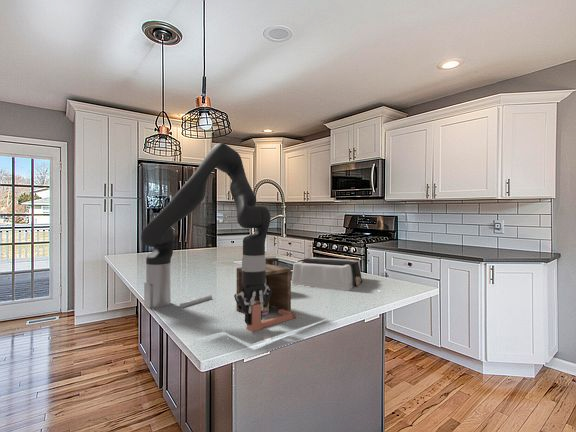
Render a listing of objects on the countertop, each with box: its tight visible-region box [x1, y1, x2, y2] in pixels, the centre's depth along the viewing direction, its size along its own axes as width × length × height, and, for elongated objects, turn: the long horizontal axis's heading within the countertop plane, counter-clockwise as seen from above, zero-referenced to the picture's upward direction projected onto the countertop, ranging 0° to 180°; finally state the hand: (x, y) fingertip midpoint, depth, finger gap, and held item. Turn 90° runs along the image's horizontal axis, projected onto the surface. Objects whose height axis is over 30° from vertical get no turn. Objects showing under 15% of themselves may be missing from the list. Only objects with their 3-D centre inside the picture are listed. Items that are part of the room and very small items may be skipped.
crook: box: [246, 302, 297, 333], centre depth 111 cm, size 20×8×8 cm, turn 133°
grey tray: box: [291, 256, 363, 292], centre depth 172 cm, size 35×33×12 cm
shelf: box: [236, 264, 292, 312], centre depth 123 cm, size 15×14×16 cm
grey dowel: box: [179, 294, 213, 309], centre depth 135 cm, size 16×2×2 cm
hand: (253, 322), depth 104 cm, fingers closed on crook, 3 cm apart
